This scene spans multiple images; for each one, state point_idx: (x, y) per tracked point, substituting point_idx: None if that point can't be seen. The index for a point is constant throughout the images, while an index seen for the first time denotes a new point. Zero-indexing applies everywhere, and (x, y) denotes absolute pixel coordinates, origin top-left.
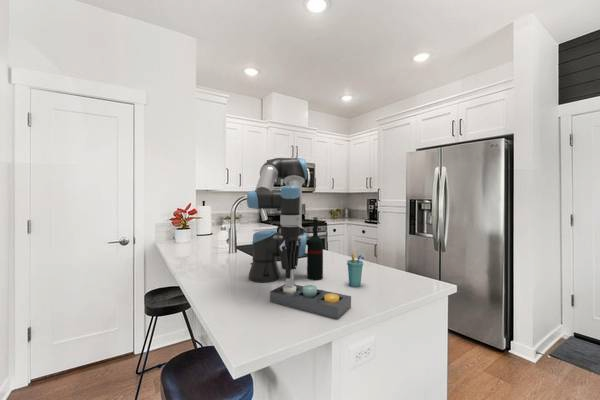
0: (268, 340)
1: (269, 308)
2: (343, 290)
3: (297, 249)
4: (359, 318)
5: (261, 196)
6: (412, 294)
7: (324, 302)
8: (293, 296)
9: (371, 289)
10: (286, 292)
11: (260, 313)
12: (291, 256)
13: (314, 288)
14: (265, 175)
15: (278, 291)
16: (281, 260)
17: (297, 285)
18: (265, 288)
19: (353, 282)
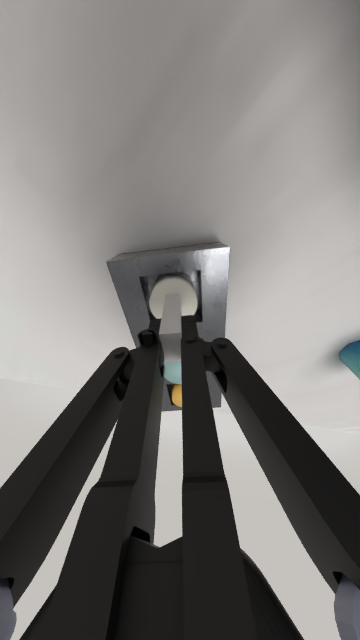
0: (28, 366)
1: (91, 287)
2: (303, 349)
3: (285, 508)
4: None
5: None
6: (315, 418)
7: None
8: (137, 341)
9: (327, 380)
10: (144, 311)
11: (55, 291)
12: (157, 448)
13: (181, 382)
14: None
15: (130, 286)
16: (71, 407)
17: (223, 297)
18: (211, 90)
19: (348, 362)
